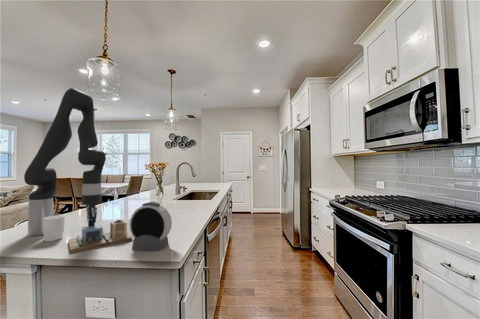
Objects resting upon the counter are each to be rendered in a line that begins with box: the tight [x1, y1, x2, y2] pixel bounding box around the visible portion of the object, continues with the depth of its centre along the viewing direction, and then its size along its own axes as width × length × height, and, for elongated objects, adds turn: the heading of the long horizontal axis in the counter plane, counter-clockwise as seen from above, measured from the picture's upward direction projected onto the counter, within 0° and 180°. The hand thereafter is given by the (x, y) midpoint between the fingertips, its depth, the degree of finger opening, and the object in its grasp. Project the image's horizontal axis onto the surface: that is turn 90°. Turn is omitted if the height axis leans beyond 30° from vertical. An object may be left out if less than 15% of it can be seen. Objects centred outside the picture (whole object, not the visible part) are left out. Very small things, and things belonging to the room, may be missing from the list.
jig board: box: [67, 219, 133, 254], centre depth 98 cm, size 15×22×8 cm
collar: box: [109, 219, 128, 238], centre depth 102 cm, size 6×6×6 cm
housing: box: [81, 224, 104, 242], centre depth 97 cm, size 6×7×5 cm
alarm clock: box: [129, 201, 173, 252], centre depth 92 cm, size 16×10×18 cm, turn 82°
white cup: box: [42, 214, 66, 242], centre depth 102 cm, size 8×8×10 cm
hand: (91, 231), depth 101 cm, fingers closed
